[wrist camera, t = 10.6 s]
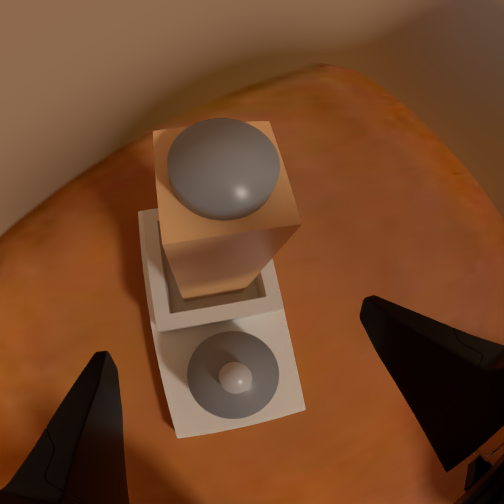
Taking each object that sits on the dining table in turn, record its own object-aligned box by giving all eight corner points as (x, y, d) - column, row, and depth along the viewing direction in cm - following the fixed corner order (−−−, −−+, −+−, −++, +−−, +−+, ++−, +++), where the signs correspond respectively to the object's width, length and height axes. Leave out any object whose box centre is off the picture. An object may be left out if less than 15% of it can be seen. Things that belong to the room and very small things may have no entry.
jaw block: (243, 291, 22) (310, 213, 9) (184, 301, 21) (158, 235, 8) (231, 235, 23) (273, 107, 10) (174, 244, 22) (151, 116, 9)
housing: (300, 406, 21) (323, 419, 16) (178, 433, 18) (174, 455, 14) (254, 201, 25) (265, 173, 21) (140, 217, 23) (129, 190, 19)
